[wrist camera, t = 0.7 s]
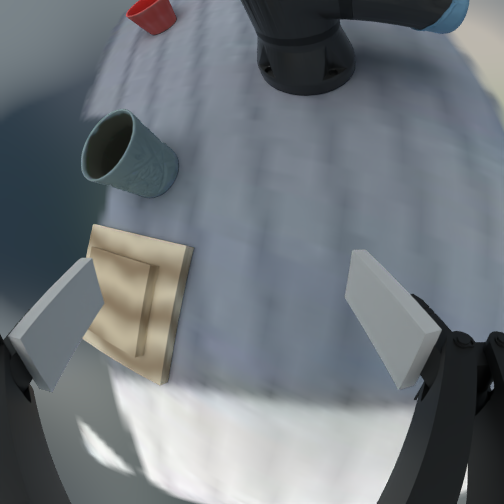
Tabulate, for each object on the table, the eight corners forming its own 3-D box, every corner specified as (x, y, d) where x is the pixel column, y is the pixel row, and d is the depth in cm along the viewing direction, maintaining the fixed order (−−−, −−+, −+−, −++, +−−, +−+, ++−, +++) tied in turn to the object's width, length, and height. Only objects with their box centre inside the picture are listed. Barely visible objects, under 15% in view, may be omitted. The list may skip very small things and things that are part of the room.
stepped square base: (101, 226, 43) (84, 221, 39) (193, 247, 36) (177, 243, 33) (84, 333, 42) (68, 335, 38) (167, 381, 36) (151, 389, 32)
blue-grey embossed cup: (153, 138, 41) (106, 105, 30) (196, 153, 38) (148, 113, 27) (124, 191, 42) (71, 168, 31) (163, 214, 39) (104, 191, 27)
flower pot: (183, 8, 47) (166, -15, 38) (180, 26, 45) (160, 1, 36) (149, 24, 50) (130, 4, 41) (143, 45, 48) (121, 23, 39)
